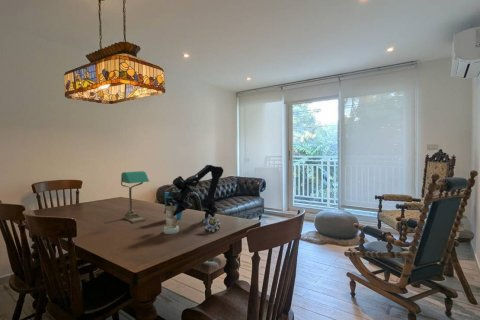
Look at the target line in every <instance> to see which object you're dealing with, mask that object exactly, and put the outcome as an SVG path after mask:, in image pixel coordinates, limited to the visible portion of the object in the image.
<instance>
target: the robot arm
mask: <svg viewBox="0 0 480 320" xmlns="http://www.w3.org/2000/svg"><path fill="white" fill-rule="evenodd" d="M209 173H210V175H211V179H210V180H211V181H210V184H209V188H208V192H207V195H206V197H205V198H203V199H202V203H201V208H202V209H203V212H205V213H204V218H205V221H206V218H207V217H208V215H210V216H212V217H214V216H216V213H217V211H218V208H217V207H216V206H215V203H216V202H215V196H216V195H215V194H216V190H217V187H218V184H219V179H221V177H222V176H223V173H224V168H223V167H222V166H218V165H217V166H216V165H215V166H214V165H213V164H206V165H205V166H204V167H203V168H202V169H200V170H199V171H198V172H197V173H195V174H194V175H191V176H189V177H187V178H186V179H184V178H183V177H182V176H181V175H179V176H178V177H176V178H174V179H173V180H172V184H173V186H174V187H175V188H176V189H177V190H175V191H176V192H173V191H171V190H169V191H168V192H169V194H168V196H170V197H173V198H166V199H165V198H164V203H165V202H166V206H171V205H172V206H175V204H177V205H178V206H177V209H176V210H175V212H174V214H173V216H175V215H177V214H178V213H180V212H182V213H183V211H186V210H188V209H189V208H190V203H188V202H187V201H186V200H187V199H188V196H189V194H190V193H194V189H193V188H196V187H197V186H198V184H199V183H200V181H201V180H202V179H203V178H204V177H205V176H206V175H208V174H209ZM178 191H180V192H178ZM173 199H174V200H173ZM163 213H164V214H165V215H166V208H165V207H164V212H163Z"/></svg>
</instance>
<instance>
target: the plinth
mask: <svg viewBox="0 0 480 320" xmlns="http://www.w3.org/2000/svg"><path fill="white" fill-rule="evenodd" d="M179 232H180V227H179V225H177V227H176V228H172V229H169V228H166V226H164V227H163V233H164V234H165V235H174V234H178V233H179Z"/></svg>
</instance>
